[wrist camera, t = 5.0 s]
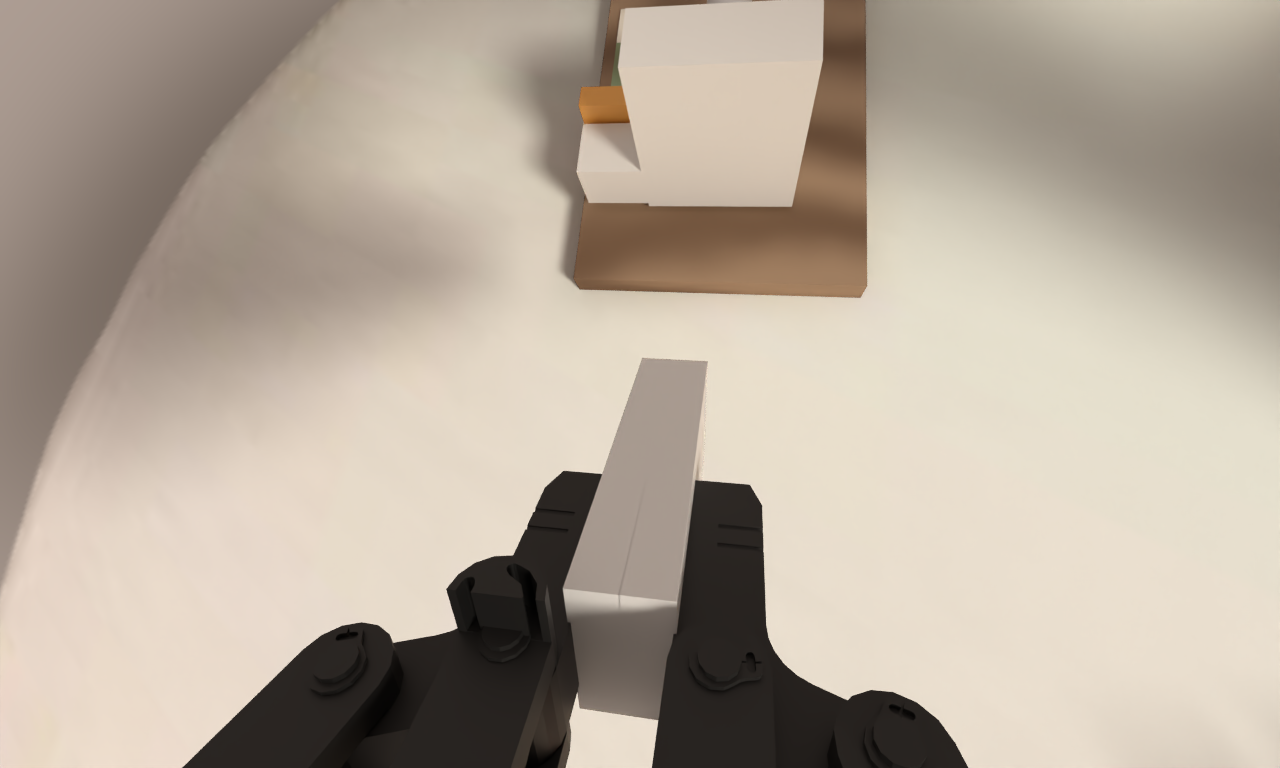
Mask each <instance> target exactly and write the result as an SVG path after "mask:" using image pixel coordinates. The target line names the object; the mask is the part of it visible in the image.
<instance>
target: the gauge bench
mask: <svg viewBox="0 0 1280 768" xmlns="http://www.w3.org/2000/svg"><path fill="white" fill-rule="evenodd" d="M753 1H772V0H752V2H753ZM697 4H707V0H611V5H610V12H609V19H608V27H607V34H606V42H605V49H604V57H603V64H602V71H601V79H600V86H599V87H601V86H622V84H621V79H620V75H619V70H618V63H619V55H620V47H621V39H622V31H623V23H624V15H625V8H641V7H659V6H678V5H697ZM574 280H575V282H576V283H577V285H578V287H579V289H585V290H619V291H653V292H687V293H721V294H755V295H789V296H823V297H857V298H860V297H861V296H862V294H863V292H864V290H865V289H866V287H867V197H866V15H865V0H824V24H823V62H822V67H821V71H820V76H819V81H818V86H817V90H816V95H815V100H814V105H813V109H812V114H811V119H810V123H809V128H808V133H807V138H806V142H805V147H804V152H803V157H802V161H801V166H800V171H799V176H798V180H797V185H796V190H795V195H794V199H793V204H792V207H732V206H649V204H648V203H589V202H588V200H587V197H586V195H585V197H584V205H583V212H582V220H581V227H580V234H579V242H578V249H577V257H576V264H575V271H574Z"/></svg>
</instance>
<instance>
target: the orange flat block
mask: <svg viewBox="0 0 1280 768" xmlns="http://www.w3.org/2000/svg"><path fill="white" fill-rule="evenodd" d="M579 109H580V112H581V115H582V118H583V121H584V124H608V123H630V119H629V115H628V110H627V106H626V101H625V97H624V92H623V88H622V86H601V87H581V93H580V100H579Z"/></svg>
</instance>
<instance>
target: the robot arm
mask: <svg viewBox="0 0 1280 768" xmlns="http://www.w3.org/2000/svg"><path fill="white" fill-rule="evenodd" d="M707 364H708V361H689V360H670V359H650V358H642V361H641V364H640V367H639V369H638V372H637V375H636V378H635V381H634V384H633V387H632V390H631V393H630V395H629V398H628V401H627V404H626V407H625V410H624V413H623V416H622V419H621V421H620V424H619V427H618V430H617V433H616V436H615V439H614V442H613V445H612V448H611V450H610V453H609V456H608V459H607V462H606V465H605V468H604V471H603V474H594V473H583V472H571V471H563V472H562V473H561V474H560V475H559V476H557V477H556V478H555V479H554V480H553V481H552V482H551V483H550V484H549V485H547V486H546V487H545V489H544V491H543V493H542V495H541V497H540V500H539V502H538V504H537V506H536V510H535V512H533V515H532V517H531V519H530V521H529V523H528V527H527V530H526V529H525V532H524V534H523V536H522V538H521V540H520V542H519V544H518V547H517V549H516V551H515V553H514V555H513V556H494V557H491V558H488V559H485V560H482V561H479V562H476V563H474V564H473V565H471V566H470V567H468V568H467V569H466V570H464V571H463V572H461V573H460V574H458V575H457V577H456V578H455V579H454V580H453V582H452V583H451V584H450V585H449V587H448V588H447V589H446V590H447V593H448V597H449V600H450V603H451V607H452V610H453V613H454V617H455V620H456V624H457V627H458V628H457V629H455V630H453V631H450V632H447V633H443V634H440V635H436V636H430V637H424V638H419V639H413V640H407V641H401V642H396V643H393V642H392V639H391V637H390V634H388V633H387V632H386V631H385V630H383V629H382V628H381V627H380V626H378V625H373V624H368V623H356V624H350V625H344V626H341V627H339V628H336V629H334V630H332V631H330V632H328V633H326V634H323V635H321V636H320V637H319V638H318V639H316V640H315V641H314V642H312V643H311V644H310V645H309V646H307V647H306V648H305V649H303V650H302V651H301V652H300V653H299V654H298V655H297V656H296V657H295V658H294V659H293V660H292V661H291V662H290V663H289V664H288V665H287V666H286V667H285V668H284V669H283V670H282V671H281V672H280V673H279V674H278V675H277V676H276V677H275V678H274V679H273V680H272V681H271V682H270V683H269V684H268V685H266V686H265V687H264V688H263V689H262V690H261V691H260V692H259V693H258V694H257V695H256V696H255V697H254V698H253V699H252V700H251V701H250V702H249V703H248V704H247V705H246V706H245V707H244V708H243V709H242V710H241V711H240V712H239V713H238V714H237V715H236V716H235V717H234V718H233V719H232V720H231V721H230V722H229V723H228V724H227V725H226V726H225V727H224V728H223V729H221V730H220V731H219V732H218V733H217V734H216V735H215V736H214V737H213V738H212V739H211V740H210V741H209V742H208V743H207V744H206V745H205V746H204V747H203V748H202V749H201V750H200V751H199V752H198V753H197V754H196V755H195V756H194V757H193V758H192V759H191V760H190V761H189V762H188V763H187V764H186V765H185V766H184V767H183V768H565V767H566V763H567V759H568V755H569V751H570V741H571V729H570V723H569V720H570V717H571V713H572V709H573V705H574V702H575V698H576V694H577V692H578V699H579V706H580V708H582V709H588V710H595V711H601V712H608V713H615V714H621V715H628V716H634V717H641V718H648V719H654V720H658V727H657V735H656V742H655V750H654V757H653V764H652V768H968V766H967V765H966V763H965V761H964V759H963V757H962V755H961V753H960V751H959V750H958V748H957V746H956V744H955V742H954V741H953V740H952V738H951V737H950V735H949V734H948V733H947V731H946V730H945V729H944V727H943V726H942V724H941V723H940V722H939V720H938V719H936V718H935V717H934V716H933V715H931V714H930V713H929V712H928V711H927V710H925V709H924V708H923V707H922V706H920V705H919V704H918V703H917V702H914V701H912V700H910V699H907V698H905V697H903V696H901V695H898V694H896V693H894V692H885V691H875V690H870V691H867V692H863V693H860V694H857V695H854V696H852V697H851V698H850V699H849V700H845V699H843V698H841V697H839V696H837V695H834V694H832V693H830V692H828V691H826V690H823V689H821V688H819V687H817V686H815V685H813V684H811V683H809V682H807V681H806V680H804V679H802V678H800V677H799V676H797V675H796V674H795V673H794V672H792V671H791V670H790V669H789V668H788V667H787V666H786V665H784V663H783V662H782V661H781V659H780V658H779V657H778V655H777V654H776V653H775V651H774V649H773V647H772V645H771V643H770V641H769V638H768V633H767V628H766V609H765V580H764V552H763V522H762V505H761V503H760V501H759V500H758V498H757V496H756V495H755V493H754V491H753V490H752V488H751V486H750V485H745V484H734V483H722V482H710V481H702V472H703V463H704V445H705V418H706V391H707Z"/></svg>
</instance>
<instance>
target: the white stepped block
mask: <svg viewBox="0 0 1280 768" xmlns="http://www.w3.org/2000/svg"><path fill="white" fill-rule="evenodd" d="M823 24H824V0H772V1H753V2H752V0H707V4H697V5H678V6H659V7H641V8H625V15H624V23H623V31H622V39H621V47H620V55H619V63H618V70H619V75H620V79H621V84H622V88H623V92H624V97H625V101H626V106H627V110H628V115H629V119H630V123H608V124H583V128H582V135H581V143H580V150H579V157H578V164H577V171H576V172H577V175H578V177H579V180H580V182H581V185H582V187H583V190H584V192H585V195H586V197H587V200H588V202H589V203H648V204H649V206H732V207H792V204H793V199H794V195H795V190H796V185H797V180H798V176H799V171H800V166H801V161H802V157H803V152H804V147H805V142H806V138H807V133H808V128H809V123H810V119H811V114H812V109H813V105H814V100H815V95H816V90H817V86H818V81H819V76H820V71H821V67H822V62H823Z"/></svg>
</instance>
